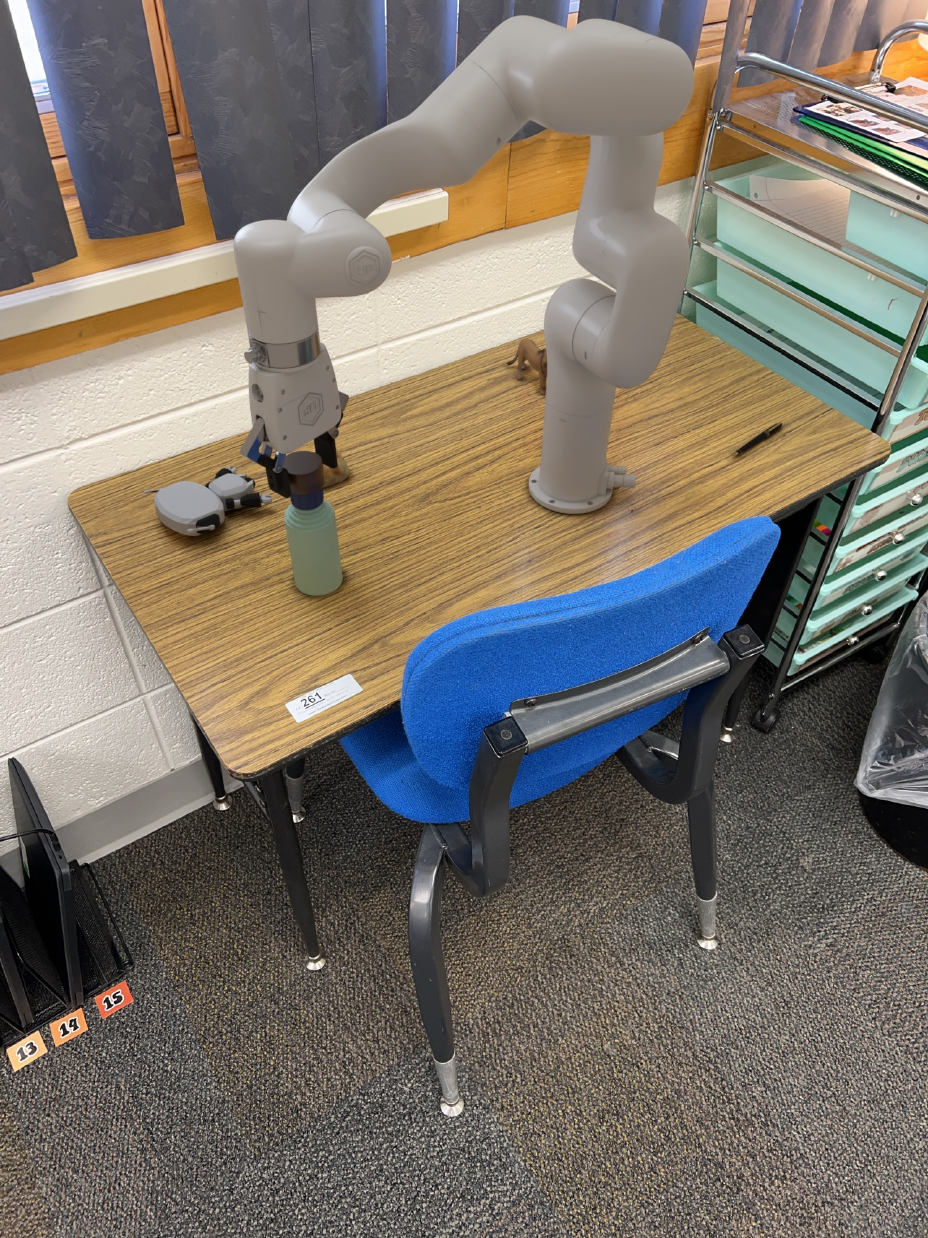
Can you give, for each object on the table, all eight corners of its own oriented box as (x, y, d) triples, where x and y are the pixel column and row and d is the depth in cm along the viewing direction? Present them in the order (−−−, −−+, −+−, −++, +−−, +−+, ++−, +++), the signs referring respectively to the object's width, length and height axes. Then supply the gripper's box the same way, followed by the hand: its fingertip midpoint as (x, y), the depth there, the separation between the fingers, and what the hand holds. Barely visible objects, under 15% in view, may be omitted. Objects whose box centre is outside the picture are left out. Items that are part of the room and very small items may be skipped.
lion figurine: (577, 392, 158) (583, 343, 152) (557, 403, 155) (561, 355, 149) (515, 361, 165) (518, 314, 159) (495, 371, 163) (496, 324, 157)
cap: (326, 491, 115) (324, 473, 113) (320, 511, 112) (318, 493, 110) (294, 490, 115) (292, 472, 114) (288, 509, 113) (285, 491, 111)
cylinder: (328, 471, 114) (325, 451, 112) (320, 495, 110) (318, 475, 108) (288, 469, 114) (285, 449, 112) (279, 494, 110) (276, 473, 108)
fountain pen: (733, 461, 143) (735, 453, 142) (727, 458, 144) (729, 450, 143) (784, 427, 150) (786, 419, 149) (778, 424, 151) (780, 416, 150)
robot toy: (233, 480, 141) (144, 514, 133) (230, 454, 138) (138, 488, 130) (279, 516, 134) (188, 555, 126) (277, 490, 131) (183, 528, 123)
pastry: (301, 501, 136) (297, 479, 133) (277, 480, 139) (274, 459, 137) (353, 477, 140) (351, 456, 137) (329, 458, 144) (327, 437, 141)
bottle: (346, 565, 125) (335, 471, 114) (338, 597, 121) (326, 502, 110) (300, 563, 126) (285, 469, 115) (290, 594, 121) (274, 500, 110)
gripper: (247, 387, 93) (272, 525, 105) (365, 324, 102) (375, 458, 115) (199, 363, 96) (229, 500, 108) (318, 305, 106) (333, 436, 118)
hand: (304, 477), depth 111 cm, fingers open, 7 cm apart
